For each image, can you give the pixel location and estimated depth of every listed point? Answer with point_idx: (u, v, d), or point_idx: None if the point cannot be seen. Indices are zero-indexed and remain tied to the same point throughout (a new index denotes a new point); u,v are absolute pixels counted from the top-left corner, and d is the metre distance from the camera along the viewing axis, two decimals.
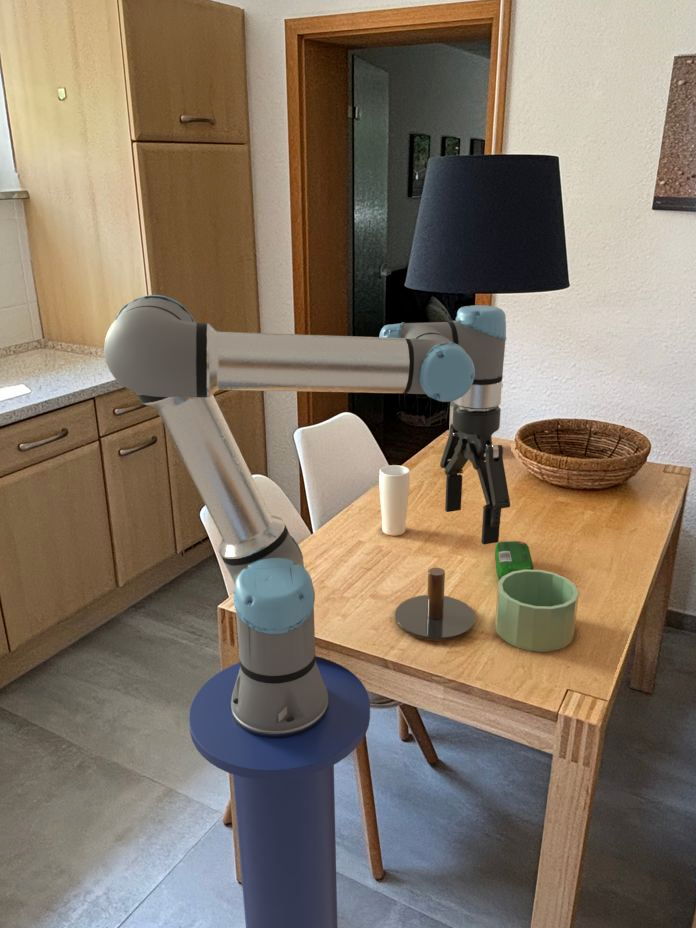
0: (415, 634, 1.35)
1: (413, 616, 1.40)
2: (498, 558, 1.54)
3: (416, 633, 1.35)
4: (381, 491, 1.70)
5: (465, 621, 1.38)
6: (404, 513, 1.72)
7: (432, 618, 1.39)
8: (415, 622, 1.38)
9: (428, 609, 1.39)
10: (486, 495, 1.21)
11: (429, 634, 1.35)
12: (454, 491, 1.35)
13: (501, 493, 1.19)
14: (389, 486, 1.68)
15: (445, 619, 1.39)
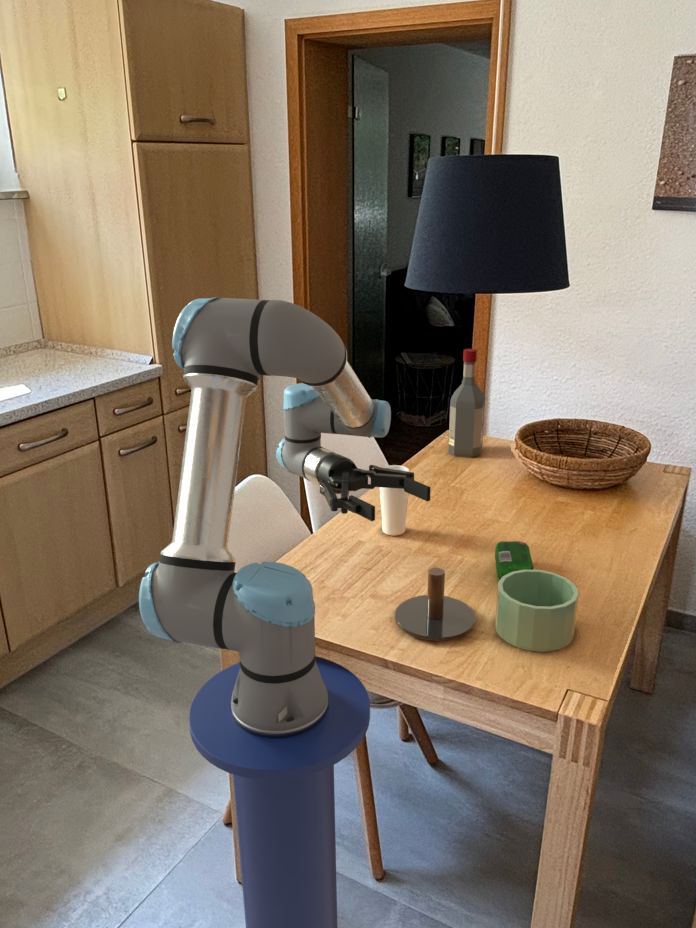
0: (415, 634, 1.35)
1: (413, 616, 1.40)
2: (498, 558, 1.54)
3: (416, 633, 1.35)
4: (381, 491, 1.70)
5: (465, 621, 1.38)
6: (404, 513, 1.72)
7: (432, 618, 1.39)
8: (415, 622, 1.38)
9: (428, 609, 1.39)
10: (399, 475, 1.50)
11: (429, 634, 1.35)
12: None
13: None
14: None
15: (445, 619, 1.39)
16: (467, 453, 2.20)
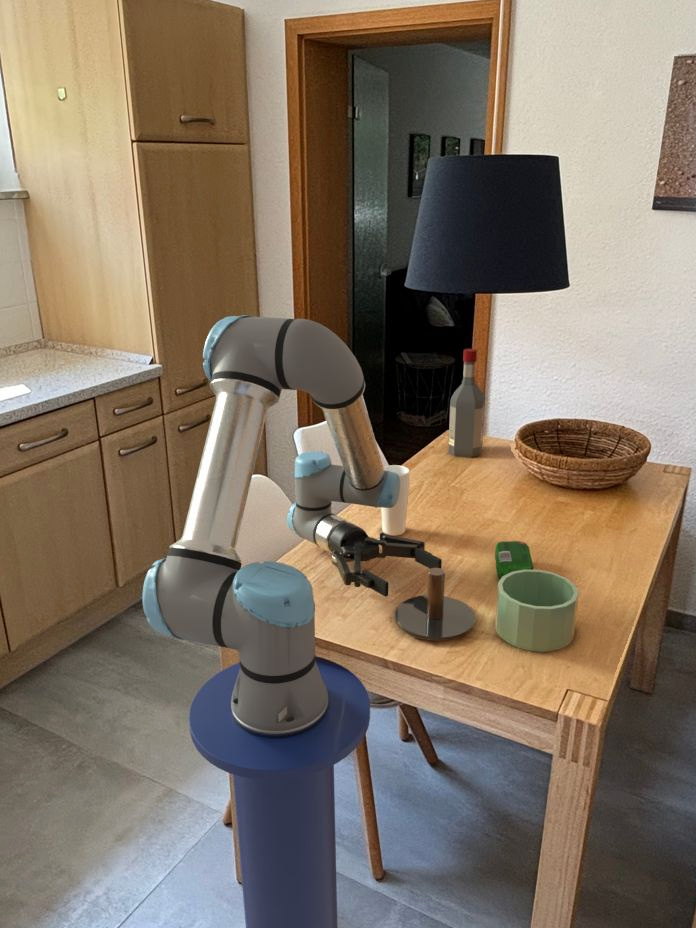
0: (415, 634, 1.35)
1: (413, 616, 1.40)
2: (498, 558, 1.54)
3: (416, 633, 1.35)
4: None
5: (465, 621, 1.38)
6: (404, 513, 1.72)
7: (432, 618, 1.39)
8: (415, 622, 1.38)
9: (428, 609, 1.39)
10: (410, 545, 1.53)
11: (429, 634, 1.35)
12: None
13: None
14: None
15: (445, 619, 1.39)
16: (467, 453, 2.20)
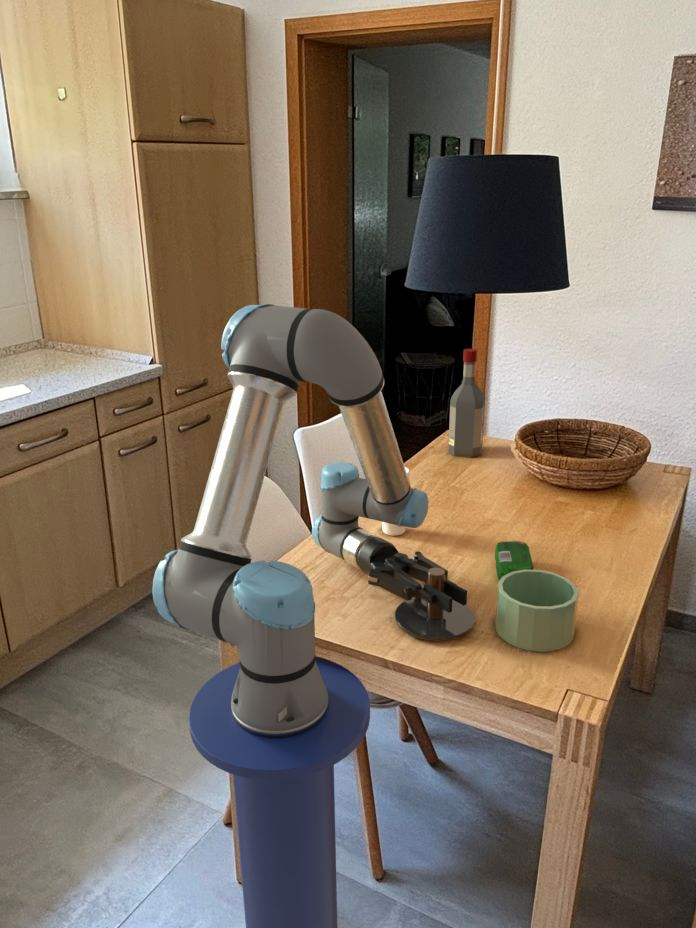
0: (415, 634, 1.35)
1: (413, 616, 1.40)
2: (498, 558, 1.54)
3: (416, 633, 1.35)
4: None
5: (465, 621, 1.38)
6: None
7: (432, 618, 1.39)
8: (415, 622, 1.38)
9: (428, 609, 1.39)
10: None
11: (429, 634, 1.35)
12: None
13: None
14: None
15: (445, 619, 1.39)
16: (467, 453, 2.20)
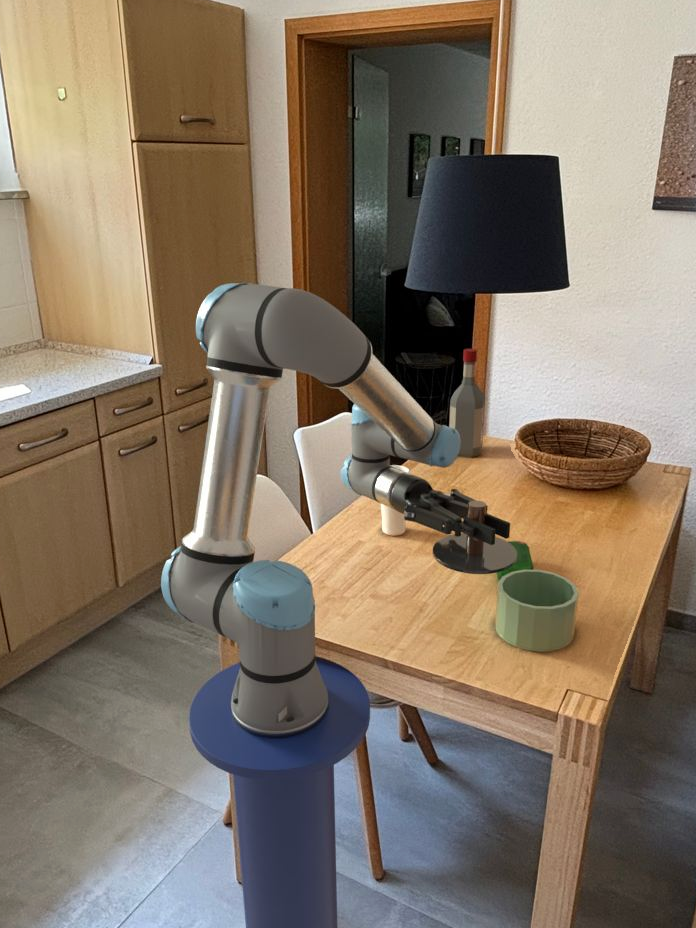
0: (456, 568, 1.29)
1: (452, 552, 1.34)
2: None
3: (457, 567, 1.29)
4: None
5: (507, 556, 1.32)
6: None
7: (472, 553, 1.33)
8: (455, 557, 1.32)
9: (468, 544, 1.33)
10: None
11: (471, 568, 1.29)
12: None
13: None
14: None
15: (486, 554, 1.33)
16: (467, 453, 2.20)
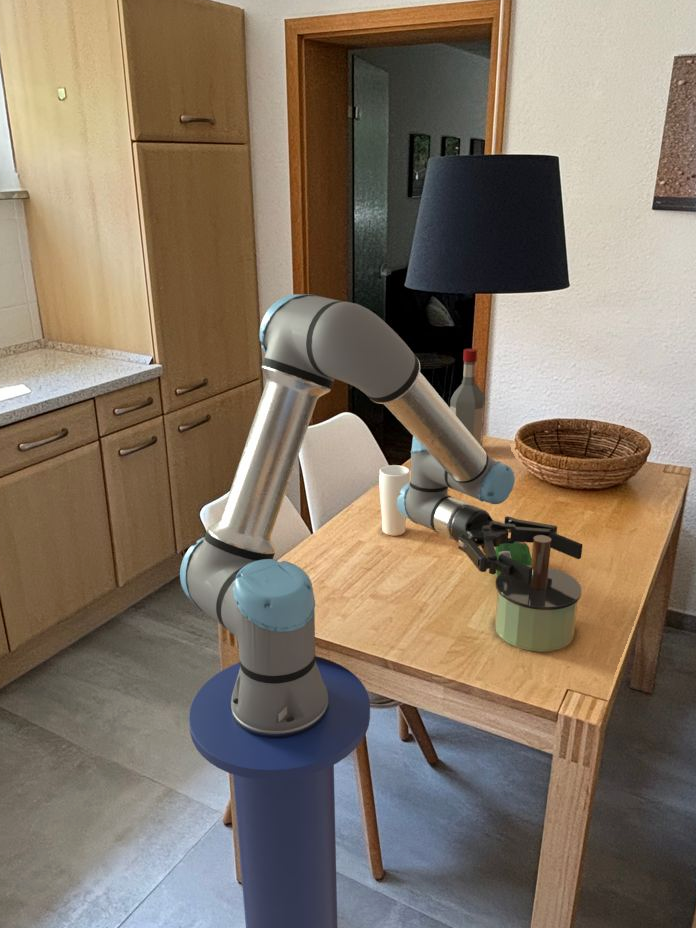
0: (522, 604, 1.29)
1: (516, 586, 1.34)
2: (498, 558, 1.54)
3: (523, 603, 1.29)
4: (381, 491, 1.70)
5: (572, 591, 1.32)
6: None
7: (536, 588, 1.33)
8: (519, 592, 1.32)
9: (532, 578, 1.33)
10: (542, 529, 1.40)
11: (537, 604, 1.29)
12: None
13: None
14: (389, 486, 1.68)
15: (550, 588, 1.33)
16: None
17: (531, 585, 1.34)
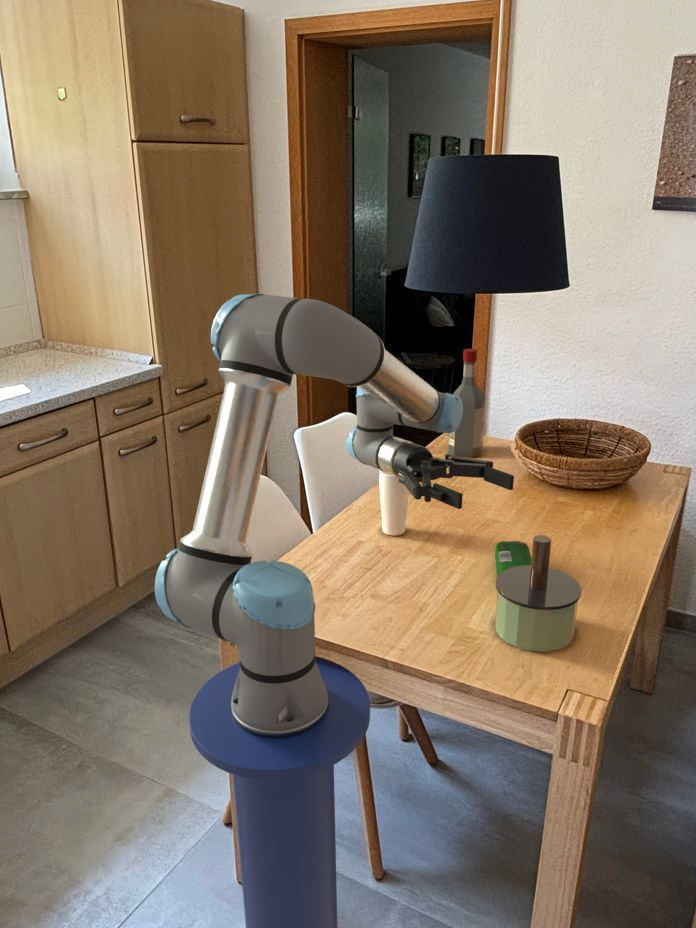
0: (522, 604, 1.29)
1: (516, 586, 1.34)
2: (498, 558, 1.54)
3: (523, 603, 1.29)
4: (381, 491, 1.70)
5: (572, 591, 1.32)
6: (404, 513, 1.72)
7: (536, 588, 1.33)
8: (519, 592, 1.32)
9: (532, 578, 1.33)
10: (478, 464, 1.47)
11: (537, 604, 1.29)
12: None
13: None
14: (389, 486, 1.68)
15: (550, 588, 1.33)
16: (467, 453, 2.20)
17: (531, 585, 1.34)
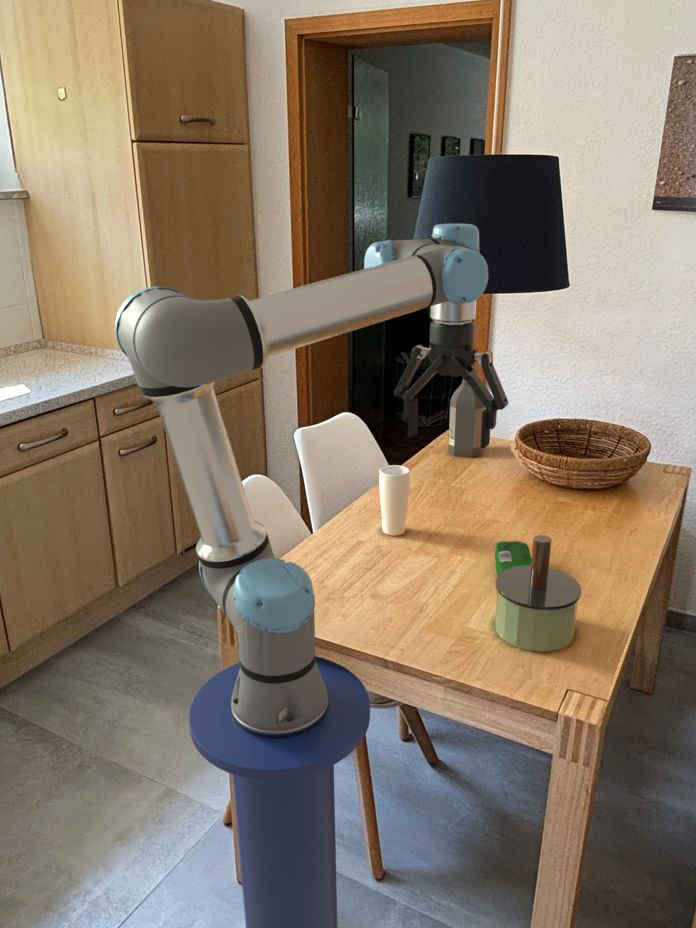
0: (522, 604, 1.29)
1: (516, 586, 1.34)
2: (498, 558, 1.54)
3: (523, 603, 1.29)
4: (381, 491, 1.70)
5: (572, 591, 1.32)
6: (404, 513, 1.72)
7: (536, 588, 1.33)
8: (519, 592, 1.32)
9: (532, 578, 1.33)
10: (486, 400, 1.30)
11: (537, 604, 1.29)
12: (415, 416, 1.39)
13: (502, 393, 1.30)
14: (389, 486, 1.68)
15: (550, 588, 1.33)
16: (467, 453, 2.20)
17: (531, 585, 1.34)
